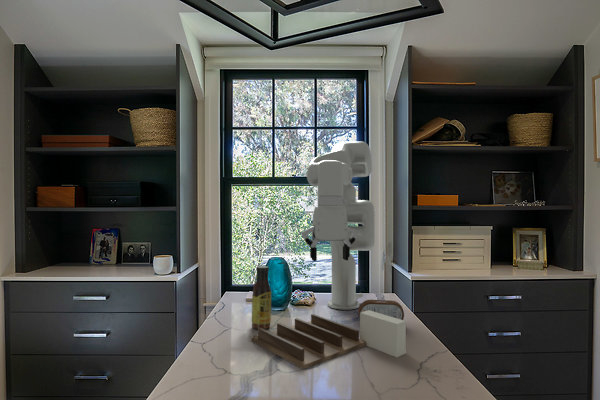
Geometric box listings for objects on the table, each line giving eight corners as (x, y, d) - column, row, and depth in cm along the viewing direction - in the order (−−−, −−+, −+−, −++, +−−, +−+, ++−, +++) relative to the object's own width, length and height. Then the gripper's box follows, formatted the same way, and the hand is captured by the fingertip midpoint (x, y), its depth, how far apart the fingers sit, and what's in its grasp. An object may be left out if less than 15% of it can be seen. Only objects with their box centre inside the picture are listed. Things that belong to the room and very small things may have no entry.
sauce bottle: (261, 331, 119) (261, 269, 119) (247, 327, 122) (247, 267, 122) (275, 326, 124) (275, 266, 124) (261, 322, 128) (261, 264, 128)
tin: (403, 324, 126) (403, 300, 126) (404, 328, 123) (405, 302, 123) (358, 323, 128) (358, 298, 127) (358, 326, 124) (358, 301, 124)
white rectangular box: (368, 339, 113) (368, 310, 113) (405, 353, 103) (405, 321, 103) (359, 343, 110) (360, 312, 110) (396, 357, 100) (397, 324, 100)
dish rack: (311, 323, 127) (311, 311, 127) (366, 345, 108) (366, 331, 108) (251, 340, 111) (251, 327, 111) (303, 369, 93) (303, 353, 93)
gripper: (353, 202, 116) (353, 257, 116) (299, 202, 113) (298, 259, 112) (362, 202, 109) (362, 261, 109) (304, 202, 105) (304, 263, 105)
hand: (329, 260), depth 111 cm, fingers open, 9 cm apart
